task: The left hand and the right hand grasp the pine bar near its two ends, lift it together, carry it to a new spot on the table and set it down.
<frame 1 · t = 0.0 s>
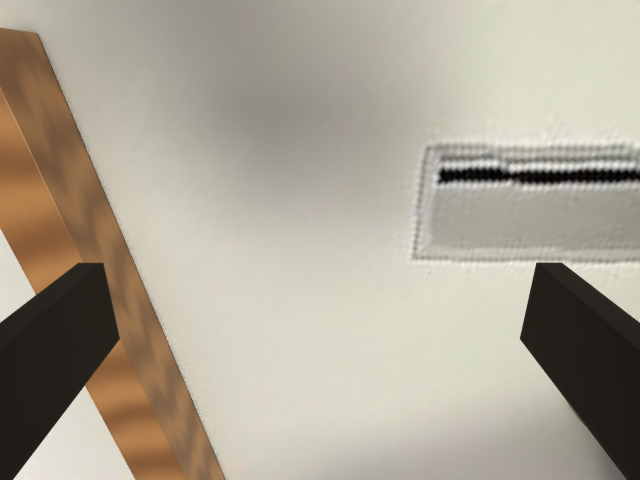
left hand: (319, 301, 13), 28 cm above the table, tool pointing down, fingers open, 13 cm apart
bar: (135, 324, 46), on the table
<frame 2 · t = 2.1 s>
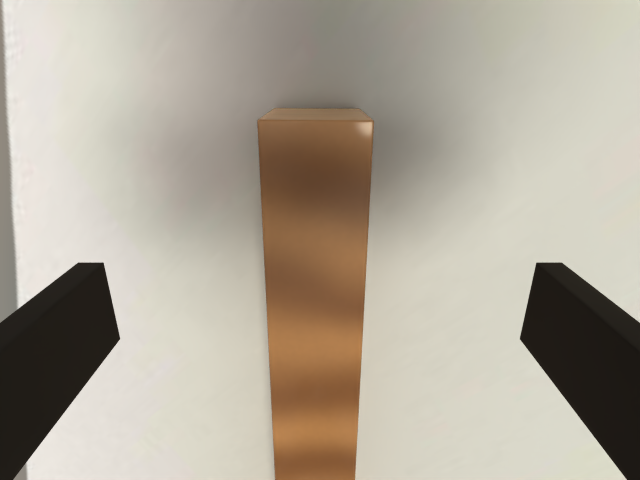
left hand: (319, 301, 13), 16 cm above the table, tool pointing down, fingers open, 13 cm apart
bar: (315, 451, 37), on the table
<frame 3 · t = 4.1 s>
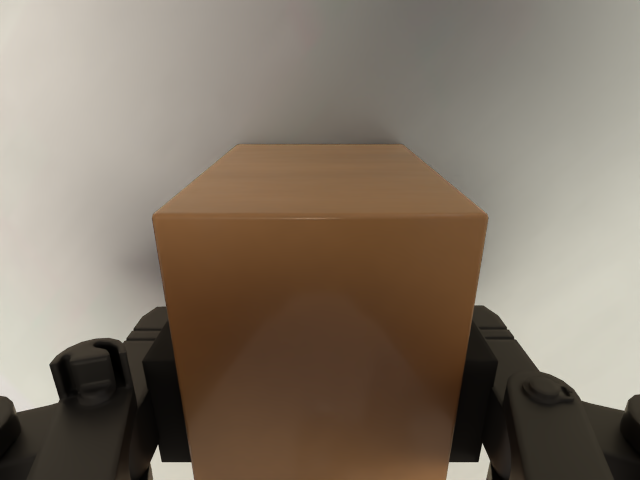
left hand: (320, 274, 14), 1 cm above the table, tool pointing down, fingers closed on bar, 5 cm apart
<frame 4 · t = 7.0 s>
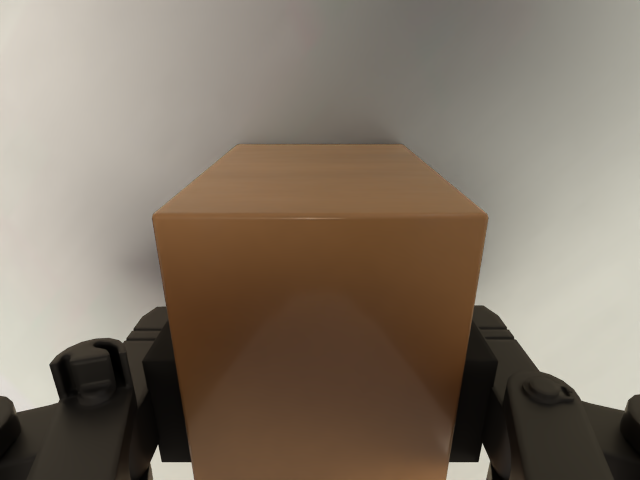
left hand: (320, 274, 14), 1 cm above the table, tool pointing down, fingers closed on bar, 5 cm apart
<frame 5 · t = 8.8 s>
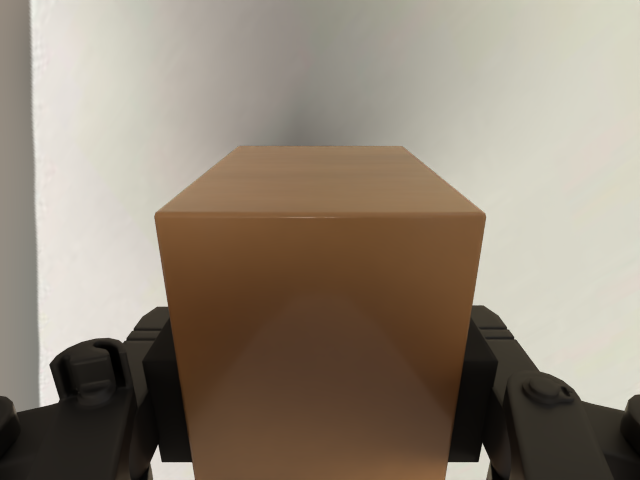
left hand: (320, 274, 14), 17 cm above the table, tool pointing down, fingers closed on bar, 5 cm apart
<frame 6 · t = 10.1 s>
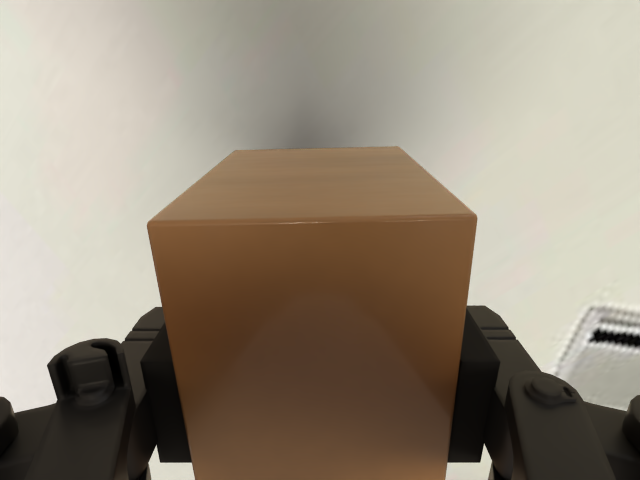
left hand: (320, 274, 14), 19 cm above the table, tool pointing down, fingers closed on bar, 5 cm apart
when the right hand's fingers open (2 cm above the table, at t = 13.5 s): bar drops 2 cm, on the table.
when the left hand's fingers open (2 cm above the table, at t = 13.6 s): bar drops 2 cm, on the table.
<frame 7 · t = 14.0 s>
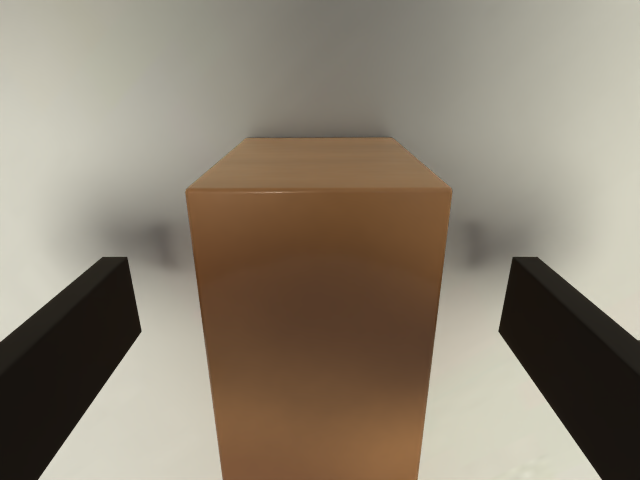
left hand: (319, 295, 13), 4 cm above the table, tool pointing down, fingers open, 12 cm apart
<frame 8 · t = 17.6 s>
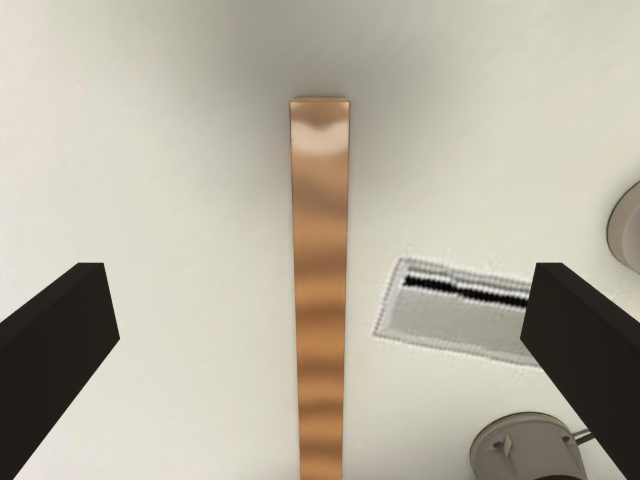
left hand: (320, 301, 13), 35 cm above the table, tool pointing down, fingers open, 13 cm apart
bar: (320, 331, 54), on the table
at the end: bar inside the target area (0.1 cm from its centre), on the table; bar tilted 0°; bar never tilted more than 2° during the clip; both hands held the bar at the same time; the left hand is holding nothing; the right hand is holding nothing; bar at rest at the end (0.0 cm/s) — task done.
